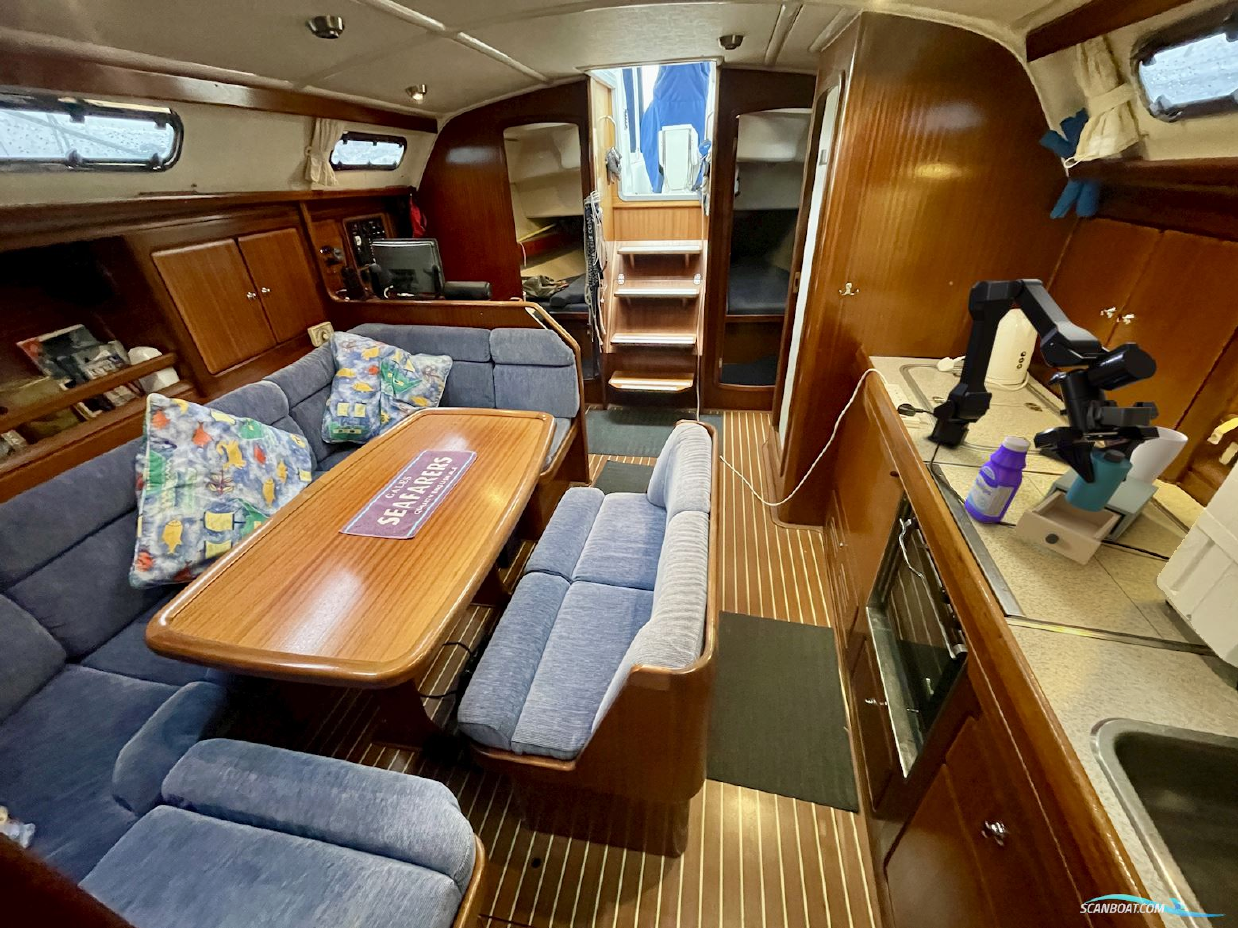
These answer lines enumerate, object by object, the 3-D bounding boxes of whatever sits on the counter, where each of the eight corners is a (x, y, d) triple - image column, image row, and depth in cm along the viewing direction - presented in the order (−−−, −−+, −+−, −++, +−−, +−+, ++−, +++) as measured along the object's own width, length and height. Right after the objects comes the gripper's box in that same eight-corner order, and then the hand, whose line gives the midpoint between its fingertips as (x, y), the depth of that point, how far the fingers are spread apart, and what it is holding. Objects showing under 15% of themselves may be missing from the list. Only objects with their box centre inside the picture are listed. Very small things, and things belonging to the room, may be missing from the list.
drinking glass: (1153, 503, 103) (1198, 443, 95) (1116, 499, 104) (1158, 439, 96) (1131, 486, 109) (1172, 427, 101) (1097, 482, 110) (1135, 424, 102)
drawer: (1082, 568, 85) (1096, 547, 83) (1009, 533, 93) (1021, 513, 91) (1112, 535, 93) (1126, 516, 90) (1043, 506, 101) (1054, 487, 98)
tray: (1039, 453, 121) (1042, 446, 120) (1057, 440, 126) (1060, 434, 125) (1095, 473, 113) (1100, 466, 112) (1112, 459, 118) (1117, 452, 117)
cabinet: (1114, 540, 93) (1134, 513, 89) (1038, 507, 102) (1053, 481, 98) (1140, 513, 100) (1159, 487, 97) (1067, 484, 109) (1082, 459, 106)
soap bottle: (1059, 500, 91) (1090, 450, 85) (1071, 490, 94) (1101, 441, 88) (1096, 515, 87) (1131, 464, 81) (1107, 505, 90) (1142, 455, 84)
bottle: (956, 503, 103) (990, 431, 94) (983, 504, 103) (1020, 432, 94) (977, 525, 97) (1015, 450, 87) (1005, 525, 97) (1047, 451, 87)
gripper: (1080, 385, 81) (1104, 475, 78) (1182, 382, 83) (1210, 471, 79) (1022, 407, 92) (1041, 487, 89) (1114, 404, 93) (1136, 483, 90)
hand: (1106, 482), depth 87 cm, fingers closed on soap bottle, 5 cm apart
